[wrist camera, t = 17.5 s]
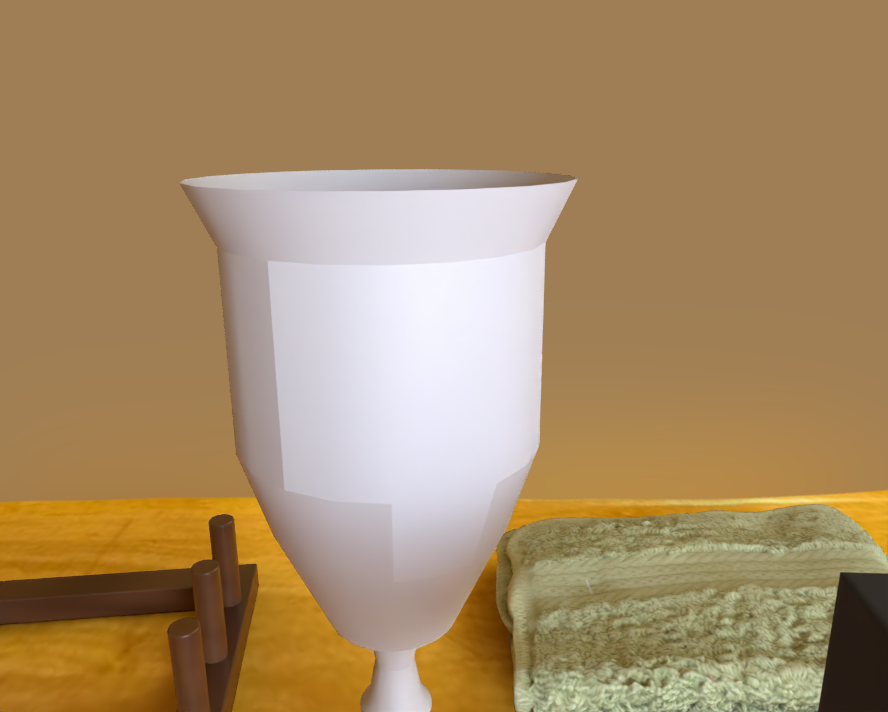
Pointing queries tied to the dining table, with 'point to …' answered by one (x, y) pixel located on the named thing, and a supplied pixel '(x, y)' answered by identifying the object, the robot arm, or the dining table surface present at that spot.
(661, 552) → the washcloth
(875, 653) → the robot arm
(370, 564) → the chalice
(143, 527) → the dining table surface
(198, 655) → the drying rack
